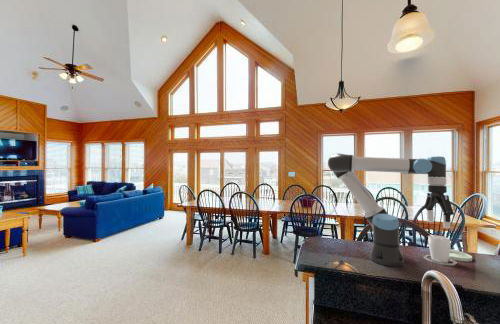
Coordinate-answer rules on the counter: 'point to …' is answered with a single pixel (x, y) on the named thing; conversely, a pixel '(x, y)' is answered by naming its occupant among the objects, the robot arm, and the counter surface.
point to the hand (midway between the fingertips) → (438, 225)
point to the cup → (439, 248)
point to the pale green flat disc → (459, 256)
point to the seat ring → (439, 262)
